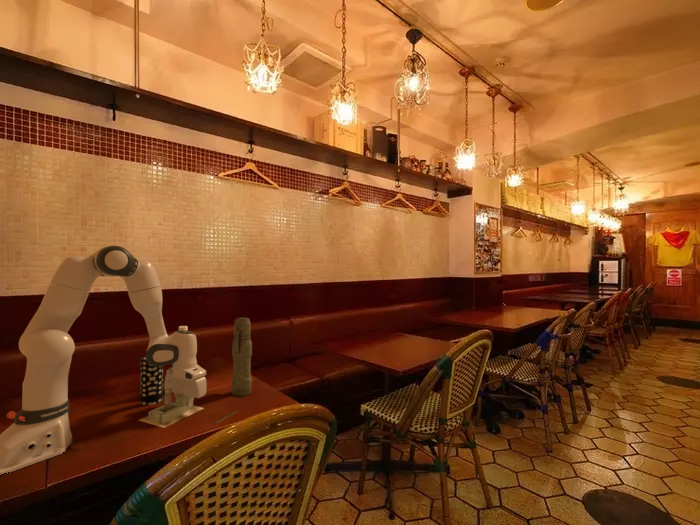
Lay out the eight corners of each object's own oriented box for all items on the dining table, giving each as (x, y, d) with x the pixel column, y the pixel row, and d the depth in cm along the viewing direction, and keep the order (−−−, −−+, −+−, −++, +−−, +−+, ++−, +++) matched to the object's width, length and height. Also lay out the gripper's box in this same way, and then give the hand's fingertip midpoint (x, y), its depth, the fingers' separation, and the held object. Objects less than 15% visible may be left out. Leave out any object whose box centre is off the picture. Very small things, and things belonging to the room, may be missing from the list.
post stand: (164, 431, 121) (164, 399, 121) (138, 424, 127) (138, 393, 127) (204, 411, 137) (204, 383, 137) (179, 405, 143) (179, 378, 143)
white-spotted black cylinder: (152, 409, 139) (152, 360, 139) (135, 407, 141) (135, 359, 141) (167, 401, 147) (167, 355, 148) (150, 399, 149) (151, 354, 149)
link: (163, 423, 124) (163, 410, 124) (148, 419, 127) (148, 406, 127) (196, 407, 138) (196, 395, 138) (182, 404, 141) (182, 392, 141)
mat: (215, 424, 127) (215, 423, 127) (195, 418, 131) (195, 418, 131) (237, 411, 138) (237, 410, 138) (219, 407, 142) (219, 406, 142)
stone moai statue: (227, 397, 152) (228, 320, 152) (236, 388, 164) (237, 316, 164) (246, 398, 152) (247, 320, 152) (254, 388, 163) (255, 316, 163)
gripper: (160, 369, 138) (159, 402, 138) (196, 376, 130) (196, 412, 130) (173, 364, 144) (173, 397, 144) (209, 371, 136) (209, 405, 136)
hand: (184, 404), depth 137 cm, fingers closed on link, 4 cm apart
